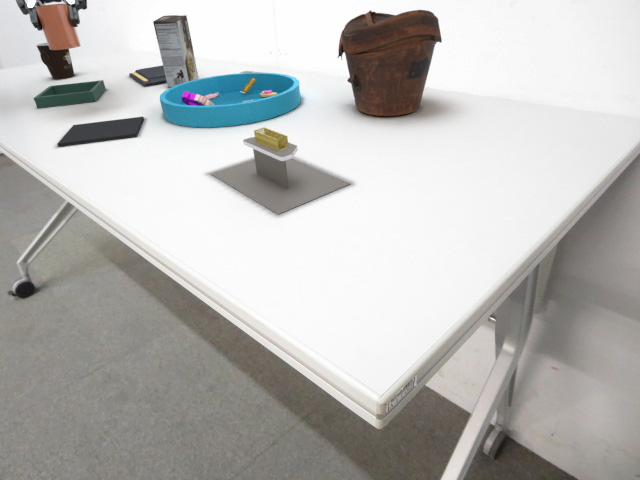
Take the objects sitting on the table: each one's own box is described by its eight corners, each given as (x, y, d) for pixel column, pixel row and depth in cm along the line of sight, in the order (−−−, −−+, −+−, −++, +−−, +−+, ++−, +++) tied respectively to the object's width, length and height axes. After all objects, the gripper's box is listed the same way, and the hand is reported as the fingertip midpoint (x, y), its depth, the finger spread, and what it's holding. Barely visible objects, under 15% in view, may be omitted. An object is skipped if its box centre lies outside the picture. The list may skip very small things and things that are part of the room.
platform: (276, 151, 72) (271, 111, 69) (350, 183, 60) (349, 136, 57) (210, 173, 66) (201, 131, 63) (278, 214, 54) (271, 163, 51)
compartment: (37, 108, 108) (33, 98, 107) (53, 95, 120) (49, 85, 118) (95, 101, 110) (92, 91, 109) (106, 89, 122) (103, 80, 120)
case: (360, 93, 100) (359, 4, 91) (448, 99, 91) (457, 1, 82) (321, 115, 88) (315, 14, 78) (419, 125, 79) (425, 13, 69)
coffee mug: (66, 73, 147) (55, 41, 142) (84, 74, 144) (73, 41, 138) (34, 81, 138) (20, 47, 133) (52, 83, 135) (39, 47, 130)
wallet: (195, 71, 126) (140, 80, 120) (196, 77, 127) (142, 87, 121) (176, 61, 141) (127, 69, 135) (178, 68, 142) (129, 76, 136)
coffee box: (176, 78, 126) (163, 15, 117) (199, 77, 125) (187, 14, 116) (166, 87, 118) (151, 20, 109) (190, 86, 118) (177, 19, 109)
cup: (46, 51, 91) (30, 7, 87) (54, 46, 96) (39, 5, 92) (77, 48, 92) (62, 4, 88) (83, 44, 97) (70, 2, 93)
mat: (58, 146, 82) (56, 143, 82) (74, 127, 92) (73, 124, 92) (136, 136, 84) (135, 133, 84) (144, 119, 94) (143, 116, 94)
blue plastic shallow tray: (133, 121, 93) (125, 92, 90) (219, 86, 116) (214, 62, 113) (253, 133, 81) (249, 100, 78) (323, 91, 104) (321, 65, 101)
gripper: (-3, -55, 89) (8, 16, 85) (75, -59, 92) (88, 8, 89) (15, -24, 96) (26, 42, 92) (86, -29, 99) (99, 34, 96)
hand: (56, 25), depth 91 cm, fingers closed on cup, 6 cm apart
